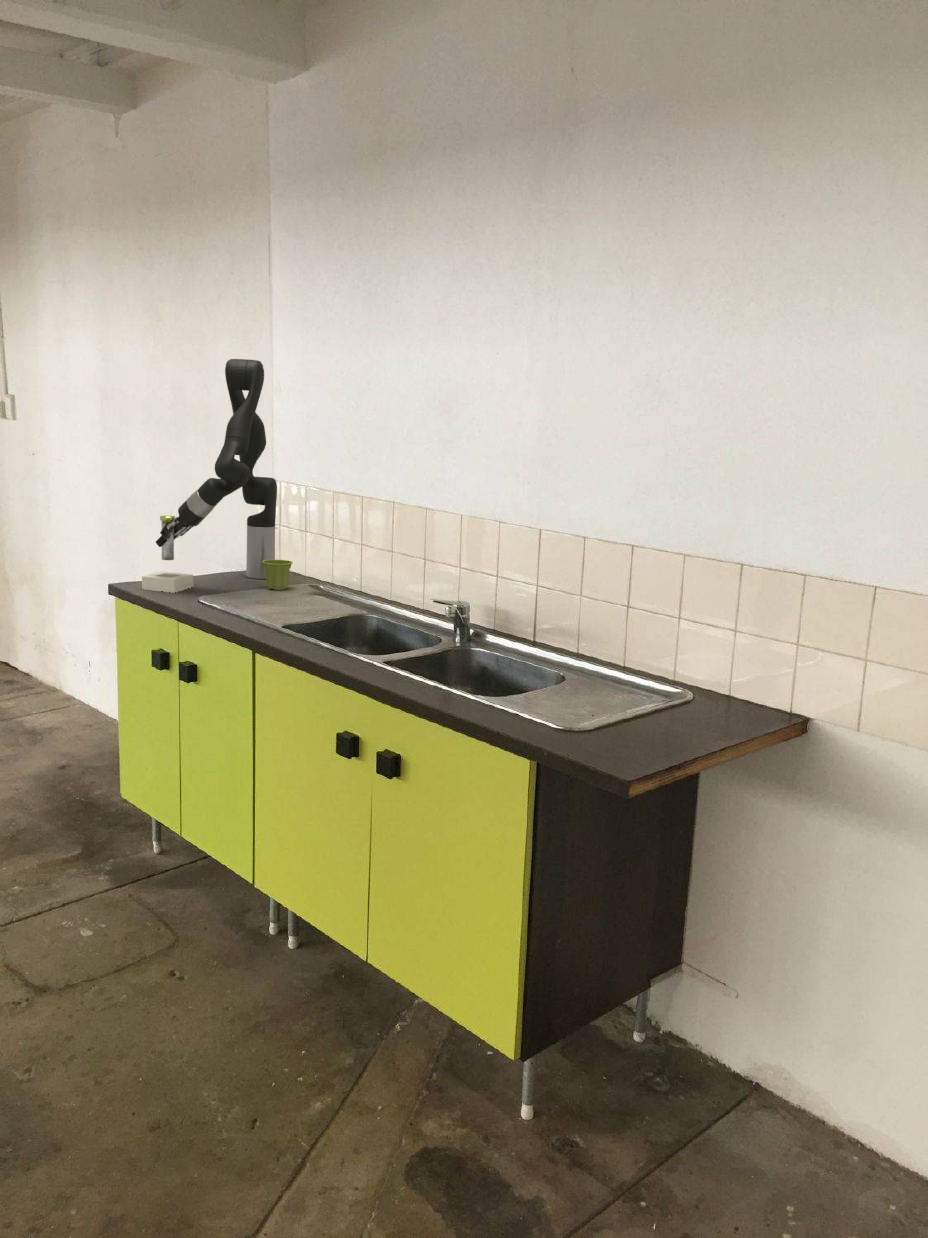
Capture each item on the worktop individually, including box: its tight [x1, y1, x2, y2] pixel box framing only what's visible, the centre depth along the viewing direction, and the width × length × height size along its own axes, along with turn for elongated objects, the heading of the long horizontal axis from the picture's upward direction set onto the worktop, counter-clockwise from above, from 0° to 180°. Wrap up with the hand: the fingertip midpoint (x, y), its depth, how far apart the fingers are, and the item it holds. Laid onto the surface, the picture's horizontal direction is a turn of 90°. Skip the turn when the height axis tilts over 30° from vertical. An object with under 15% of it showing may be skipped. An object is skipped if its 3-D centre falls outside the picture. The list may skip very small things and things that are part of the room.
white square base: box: [141, 571, 194, 594], centre depth 320 cm, size 11×11×4 cm
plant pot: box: [262, 559, 293, 591], centre depth 329 cm, size 9×9×9 cm
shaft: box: [159, 515, 176, 561], centre depth 317 cm, size 4×4×13 cm
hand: (162, 543), depth 318 cm, fingers closed on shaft, 3 cm apart
